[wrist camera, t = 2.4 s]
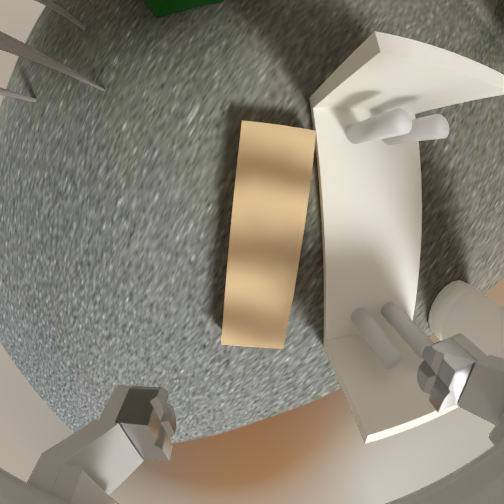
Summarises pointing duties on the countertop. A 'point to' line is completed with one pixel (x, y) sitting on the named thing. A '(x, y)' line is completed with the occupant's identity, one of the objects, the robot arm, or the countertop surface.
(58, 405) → the countertop surface
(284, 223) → the shelf board
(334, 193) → the shelf unit
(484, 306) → the bottle
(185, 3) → the milk carton
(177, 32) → the countertop surface
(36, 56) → the juicer
